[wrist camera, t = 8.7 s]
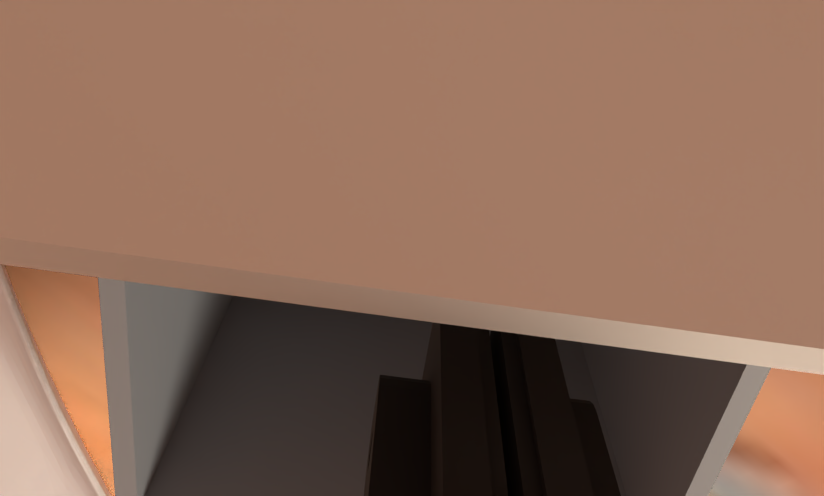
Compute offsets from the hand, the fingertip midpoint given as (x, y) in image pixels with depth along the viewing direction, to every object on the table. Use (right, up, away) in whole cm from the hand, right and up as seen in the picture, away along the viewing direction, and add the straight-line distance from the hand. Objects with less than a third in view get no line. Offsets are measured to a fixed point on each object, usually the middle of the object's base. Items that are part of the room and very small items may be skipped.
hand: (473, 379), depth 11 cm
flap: (+1, +5, -1) cm, 5 cm away
